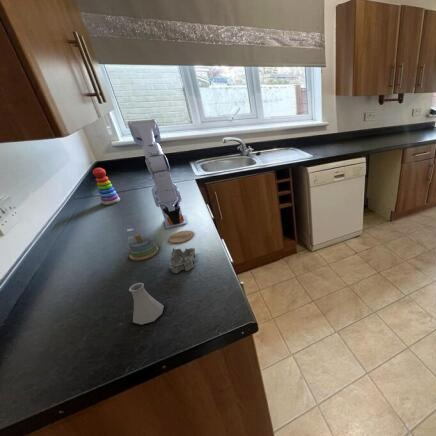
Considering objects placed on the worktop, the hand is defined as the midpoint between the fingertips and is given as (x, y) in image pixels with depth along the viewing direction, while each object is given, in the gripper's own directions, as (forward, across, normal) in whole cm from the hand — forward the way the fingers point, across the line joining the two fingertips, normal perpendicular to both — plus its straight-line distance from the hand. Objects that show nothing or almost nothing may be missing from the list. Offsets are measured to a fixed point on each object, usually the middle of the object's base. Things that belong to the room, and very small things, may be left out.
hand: (176, 220), depth 106 cm
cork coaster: (+8, 0, 0) cm, 8 cm away
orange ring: (0, 0, 0) cm, 0 cm away
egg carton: (+8, +20, -1) cm, 21 cm away
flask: (+8, +40, -12) cm, 42 cm away
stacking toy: (+8, -60, -28) cm, 67 cm away
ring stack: (+8, +5, -13) cm, 16 cm away
